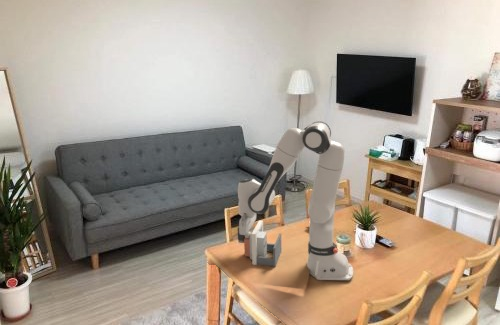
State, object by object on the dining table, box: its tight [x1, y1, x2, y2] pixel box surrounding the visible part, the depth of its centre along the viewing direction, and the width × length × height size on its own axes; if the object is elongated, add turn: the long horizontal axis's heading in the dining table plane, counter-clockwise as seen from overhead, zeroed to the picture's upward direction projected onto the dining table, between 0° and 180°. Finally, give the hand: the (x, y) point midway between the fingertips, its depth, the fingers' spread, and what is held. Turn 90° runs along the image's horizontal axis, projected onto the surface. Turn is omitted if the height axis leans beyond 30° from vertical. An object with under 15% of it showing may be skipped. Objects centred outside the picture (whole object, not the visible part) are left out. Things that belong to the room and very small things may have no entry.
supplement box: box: [249, 231, 268, 260], centre depth 194 cm, size 7×7×13 cm
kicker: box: [237, 226, 252, 258], centre depth 196 cm, size 7×5×14 cm
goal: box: [251, 220, 282, 268], centre depth 193 cm, size 12×16×16 cm
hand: (248, 235), depth 194 cm, fingers closed on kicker, 3 cm apart
